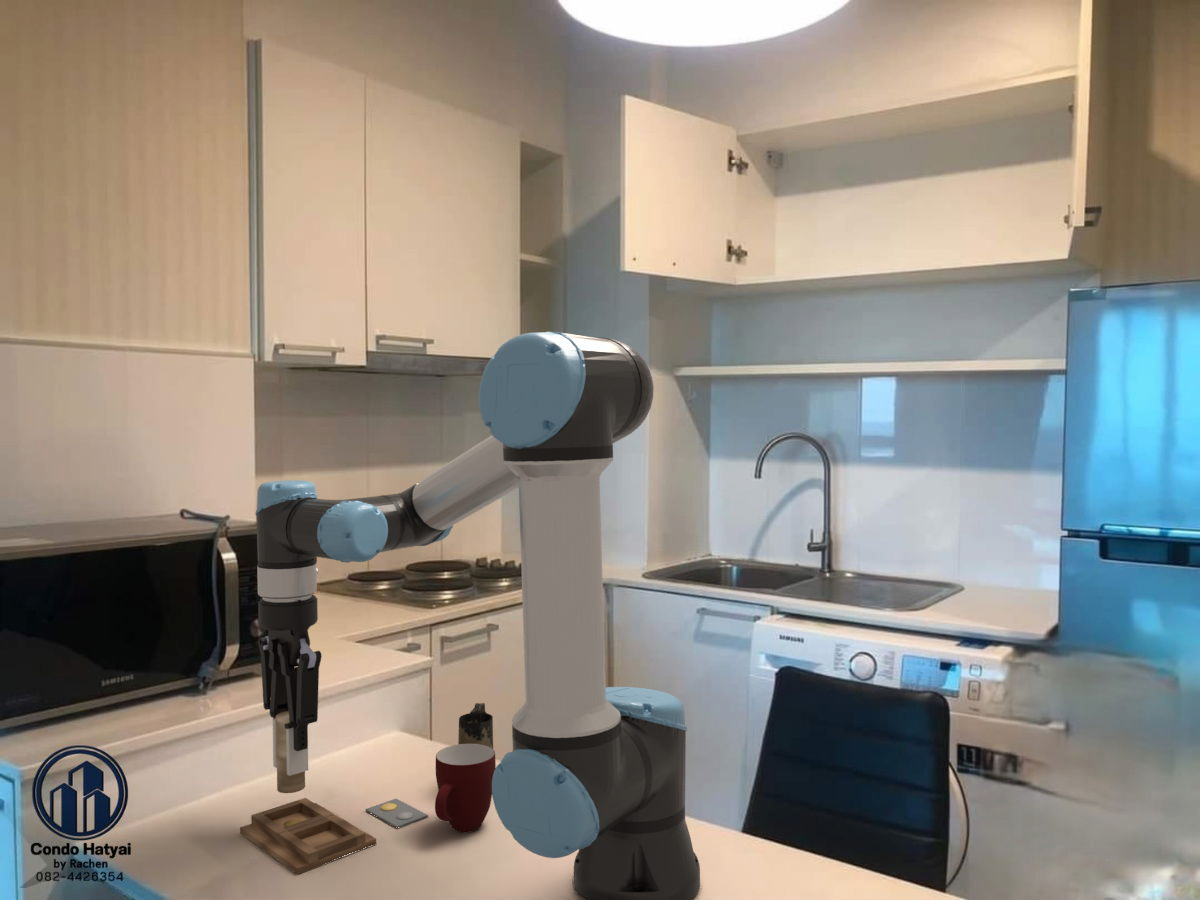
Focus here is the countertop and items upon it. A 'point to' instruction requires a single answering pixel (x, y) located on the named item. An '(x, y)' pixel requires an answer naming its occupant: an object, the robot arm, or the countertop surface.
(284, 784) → the peg
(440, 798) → the mug
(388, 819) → the key tile
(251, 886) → the countertop surface
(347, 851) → the board
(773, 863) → the countertop surface
